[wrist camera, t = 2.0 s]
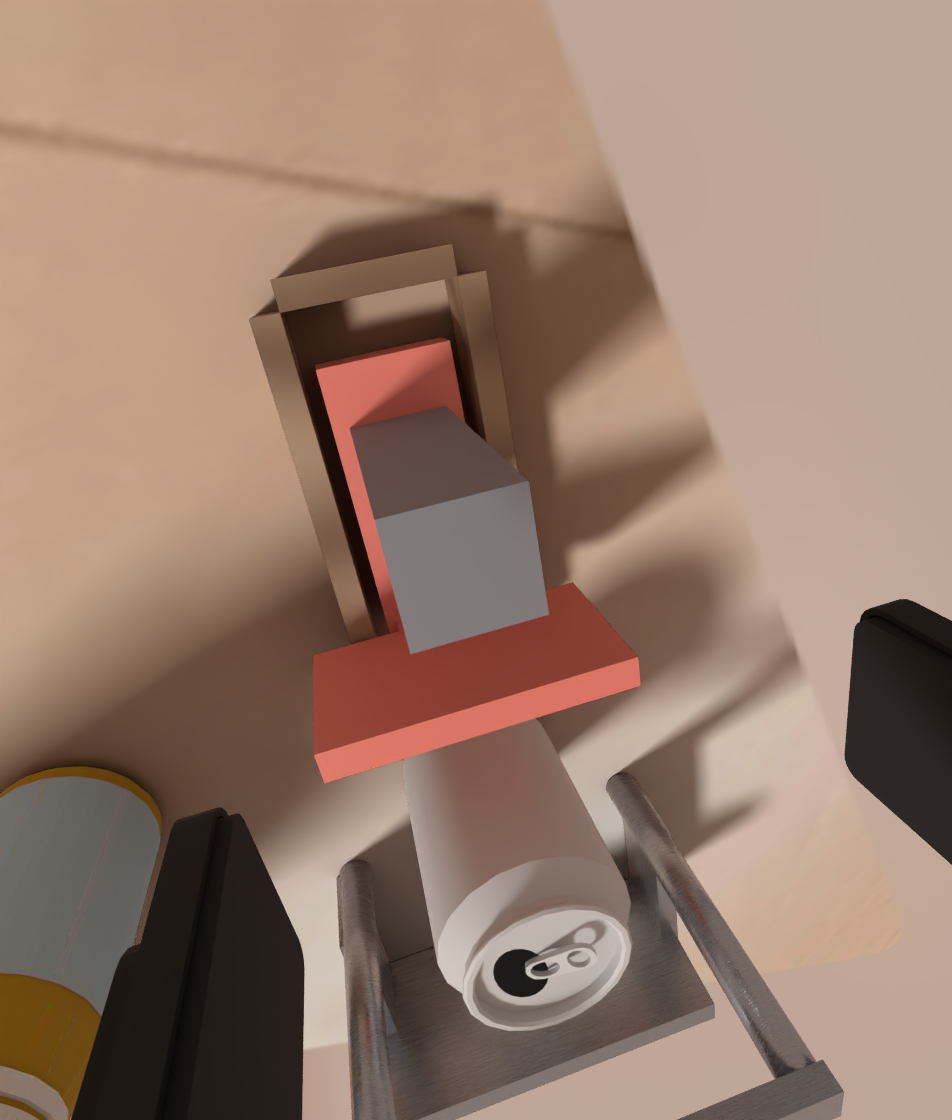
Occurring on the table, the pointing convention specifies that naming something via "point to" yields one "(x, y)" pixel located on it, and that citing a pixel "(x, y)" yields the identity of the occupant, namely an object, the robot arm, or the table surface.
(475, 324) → the brown wooden rectangular frame
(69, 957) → the bottle
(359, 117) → the table surface
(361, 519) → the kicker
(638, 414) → the table surface
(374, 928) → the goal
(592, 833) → the can
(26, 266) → the table surface
